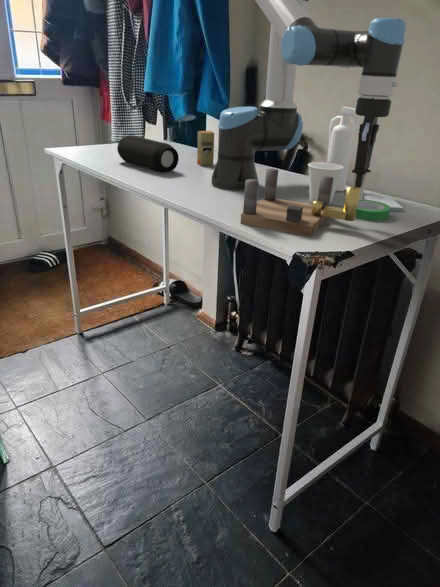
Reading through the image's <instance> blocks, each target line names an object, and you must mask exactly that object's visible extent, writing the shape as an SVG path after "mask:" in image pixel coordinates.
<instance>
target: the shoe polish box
mask: <svg viewBox="0 0 440 587" xmlns="http://www.w3.org/2000/svg"><path fill="white" fill-rule="evenodd" d="M214 149H215V132H213V131H211V130H197V151H196V152H197V156H196V157H197V159H196V160H197V161H196V162H197V165H198V166H200V167H214V153H215V150H214Z"/></svg>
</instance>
